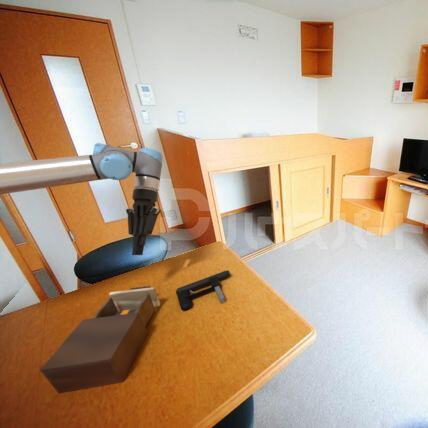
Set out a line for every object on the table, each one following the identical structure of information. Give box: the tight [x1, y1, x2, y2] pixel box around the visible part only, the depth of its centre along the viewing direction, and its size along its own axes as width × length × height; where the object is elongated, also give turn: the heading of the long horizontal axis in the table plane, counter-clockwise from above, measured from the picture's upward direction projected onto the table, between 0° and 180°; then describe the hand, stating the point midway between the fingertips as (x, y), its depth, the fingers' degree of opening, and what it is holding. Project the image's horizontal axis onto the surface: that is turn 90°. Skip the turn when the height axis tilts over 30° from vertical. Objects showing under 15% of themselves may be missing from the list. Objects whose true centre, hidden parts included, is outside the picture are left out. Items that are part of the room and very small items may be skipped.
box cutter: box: [116, 309, 137, 315], centre depth 78 cm, size 8×3×3 cm, turn 101°
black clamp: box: [175, 269, 231, 311], centre depth 91 cm, size 3×20×16 cm
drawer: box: [92, 285, 161, 327], centre depth 79 cm, size 18×13×8 cm
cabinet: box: [39, 312, 149, 394], centre depth 66 cm, size 15×15×10 cm
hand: (137, 255), depth 84 cm, fingers closed
